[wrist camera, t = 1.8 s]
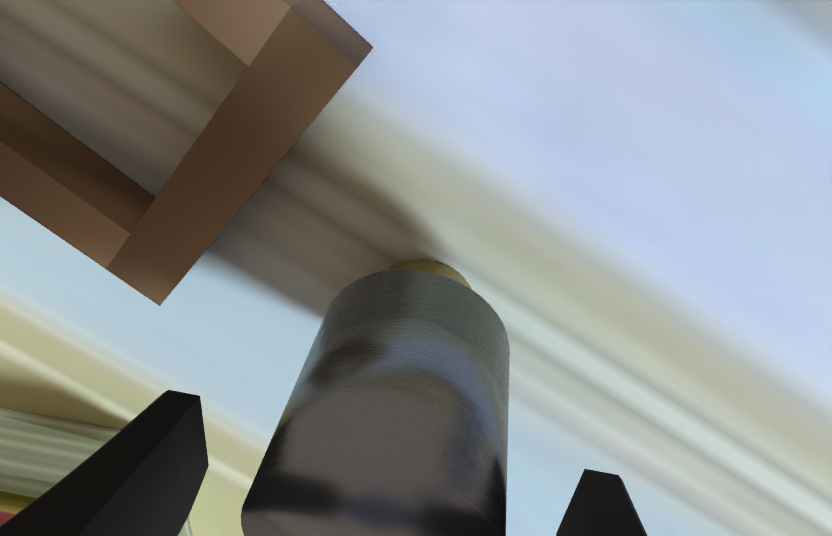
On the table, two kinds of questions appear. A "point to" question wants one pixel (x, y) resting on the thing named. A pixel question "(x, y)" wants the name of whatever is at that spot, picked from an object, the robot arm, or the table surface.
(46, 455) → the hardcover book
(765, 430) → the table surface
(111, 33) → the table surface
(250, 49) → the keyhole plate
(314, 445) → the peg
